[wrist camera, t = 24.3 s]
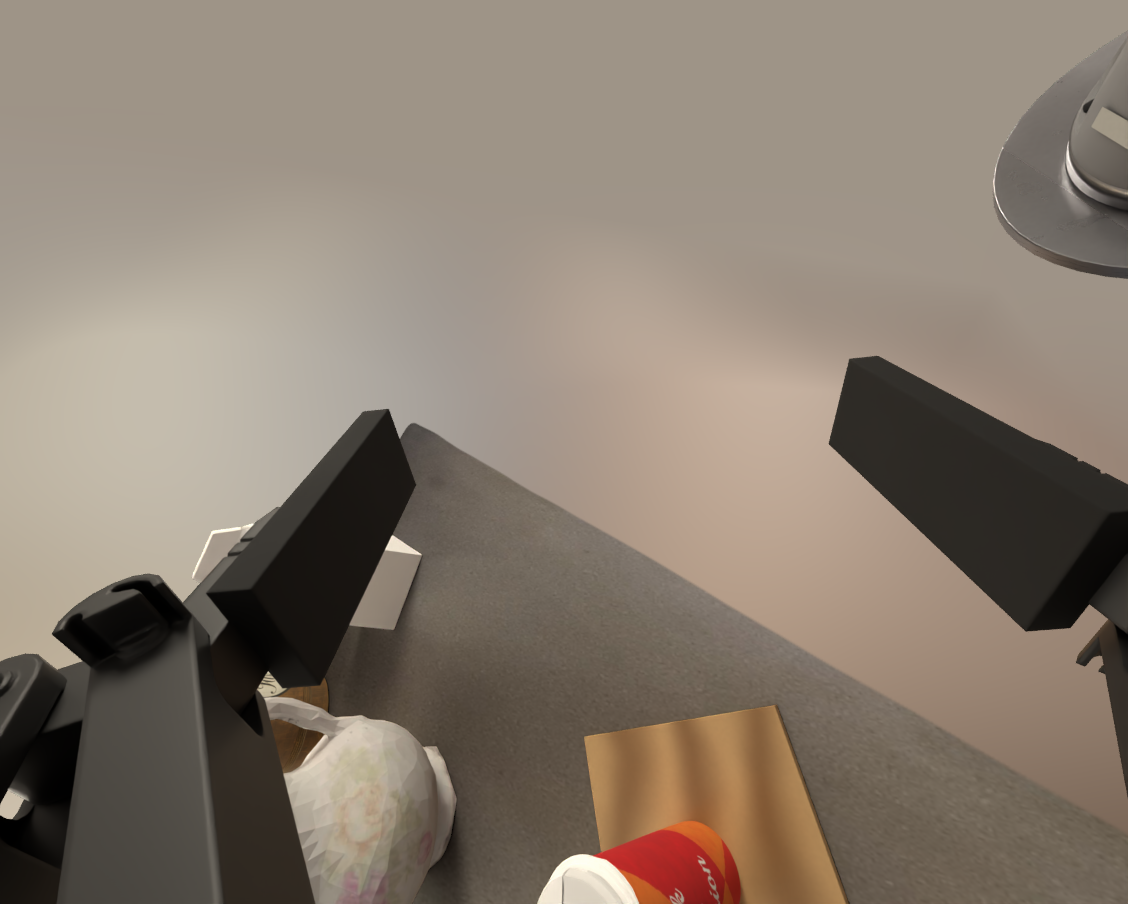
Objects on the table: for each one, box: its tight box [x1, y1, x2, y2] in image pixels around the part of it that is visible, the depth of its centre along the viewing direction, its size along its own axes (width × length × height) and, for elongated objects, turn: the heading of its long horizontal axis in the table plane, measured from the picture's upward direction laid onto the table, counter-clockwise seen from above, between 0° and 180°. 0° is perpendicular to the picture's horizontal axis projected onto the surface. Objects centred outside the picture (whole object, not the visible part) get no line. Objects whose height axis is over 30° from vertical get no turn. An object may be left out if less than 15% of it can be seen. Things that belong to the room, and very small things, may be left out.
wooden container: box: [257, 673, 329, 774], centre depth 68 cm, size 15×15×22 cm
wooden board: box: [584, 705, 849, 904], centre depth 31 cm, size 18×18×1 cm
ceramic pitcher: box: [264, 697, 457, 904], centre depth 44 cm, size 22×20×25 cm
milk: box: [192, 524, 422, 630], centre depth 63 cm, size 12×12×26 cm
